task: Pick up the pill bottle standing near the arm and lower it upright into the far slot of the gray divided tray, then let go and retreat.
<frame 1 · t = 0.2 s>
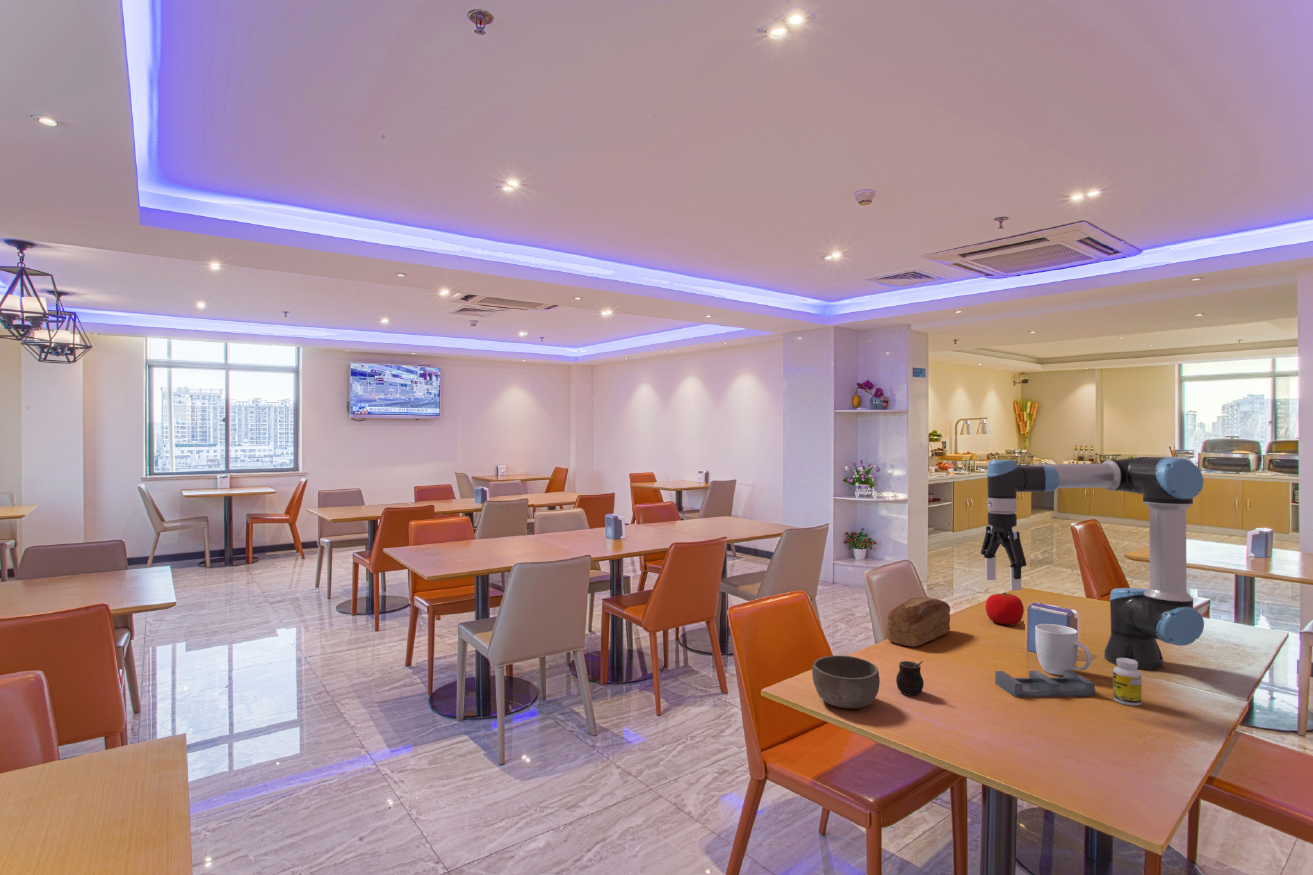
hand: (1002, 584, 192), 28 cm above the table, fingers open, 13 cm apart
tomato: (1004, 623, 251), on the table
bread: (919, 638, 233), on the table
bowl: (845, 703, 176), on the table
gray divided tray: (1043, 689, 184), on the table
pill bottle: (1127, 702, 175), on the table
mate gourd: (910, 693, 182), on the table
mug: (1060, 673, 197), on the table
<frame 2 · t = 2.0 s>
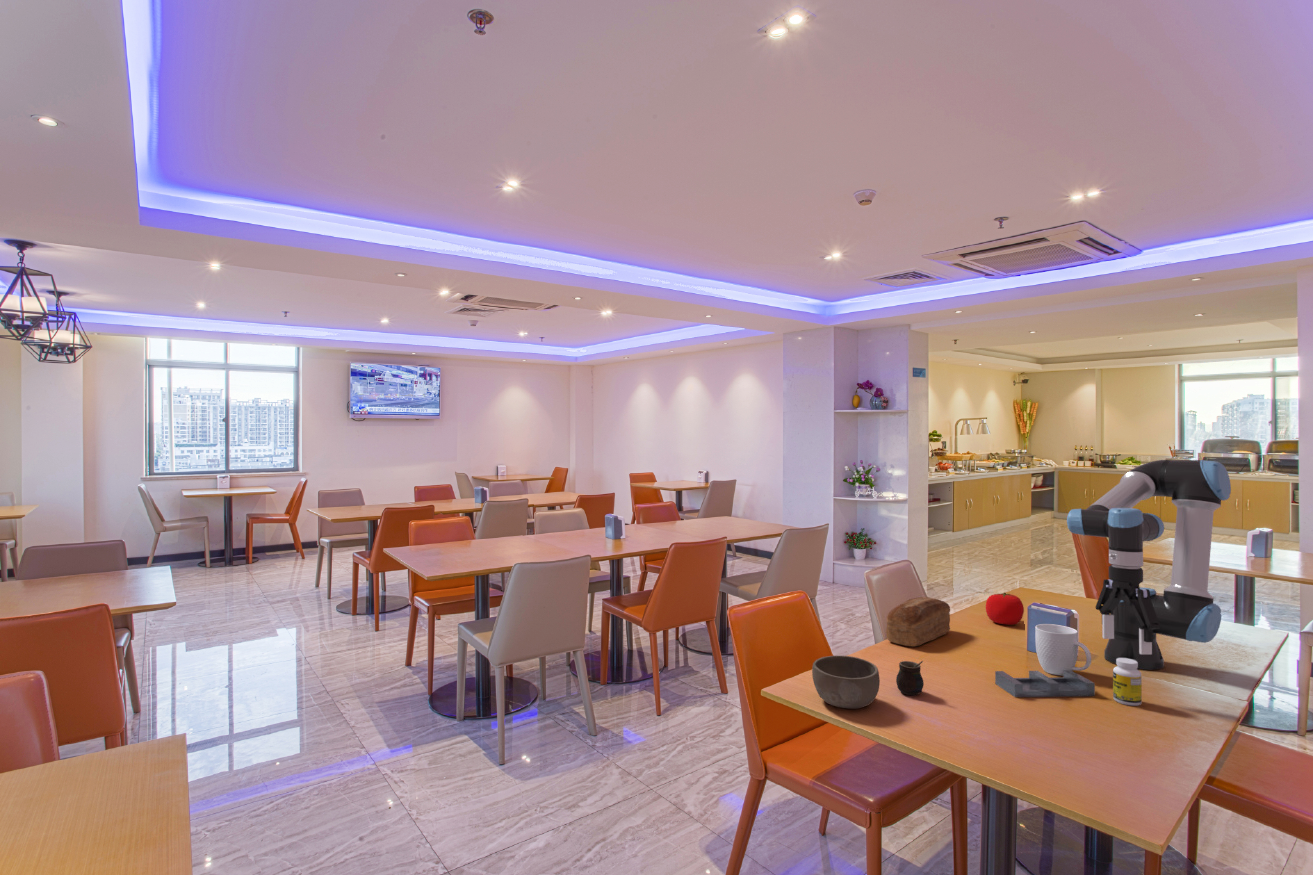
hand: (1126, 646, 175), 15 cm above the table, fingers open, 13 cm apart
nothing on the table moved.
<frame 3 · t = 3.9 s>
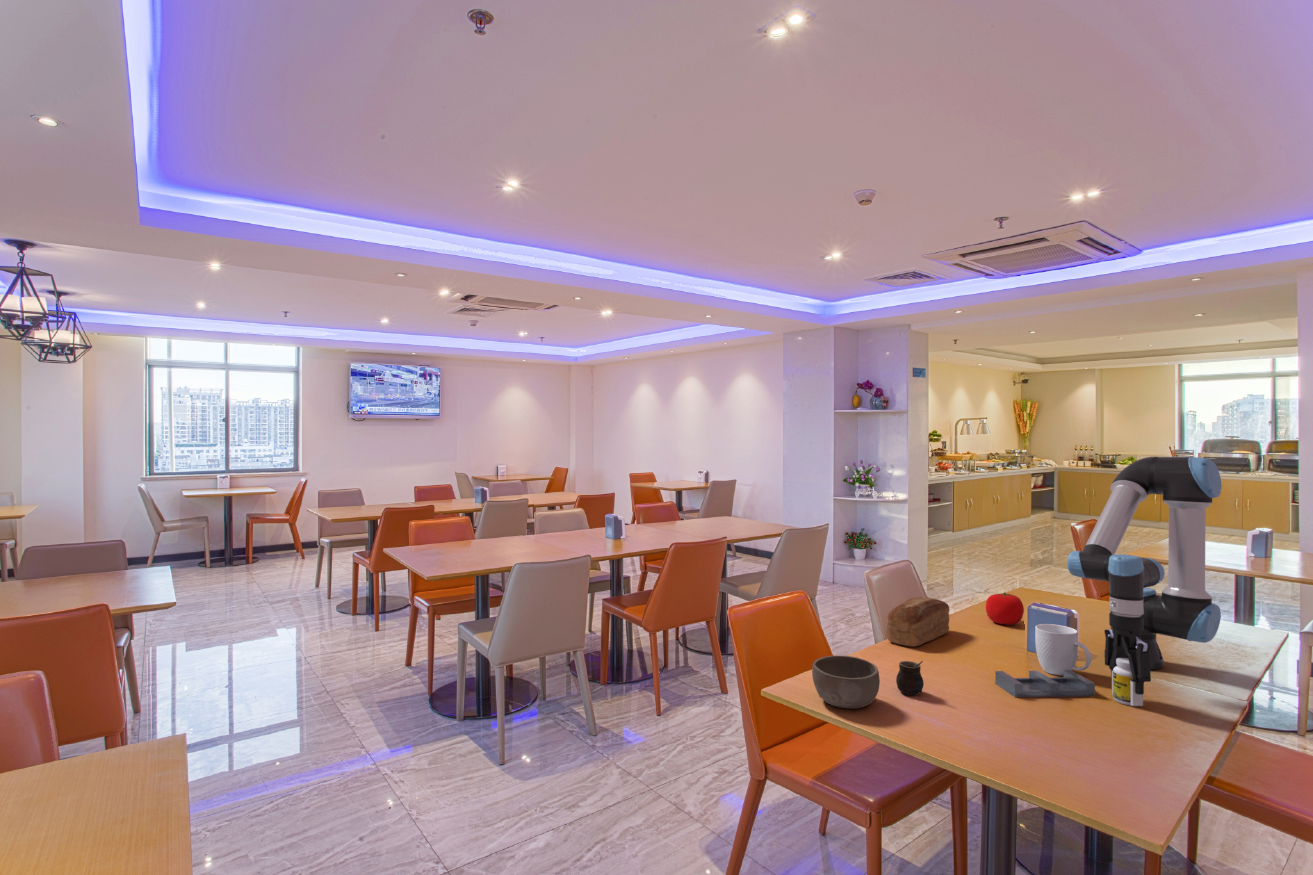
hand: (1127, 700, 175), 0 cm above the table, fingers closed on pill bottle, 6 cm apart
pill bottle: (1127, 702, 175), on the table, touching gripper
everything else where it was.
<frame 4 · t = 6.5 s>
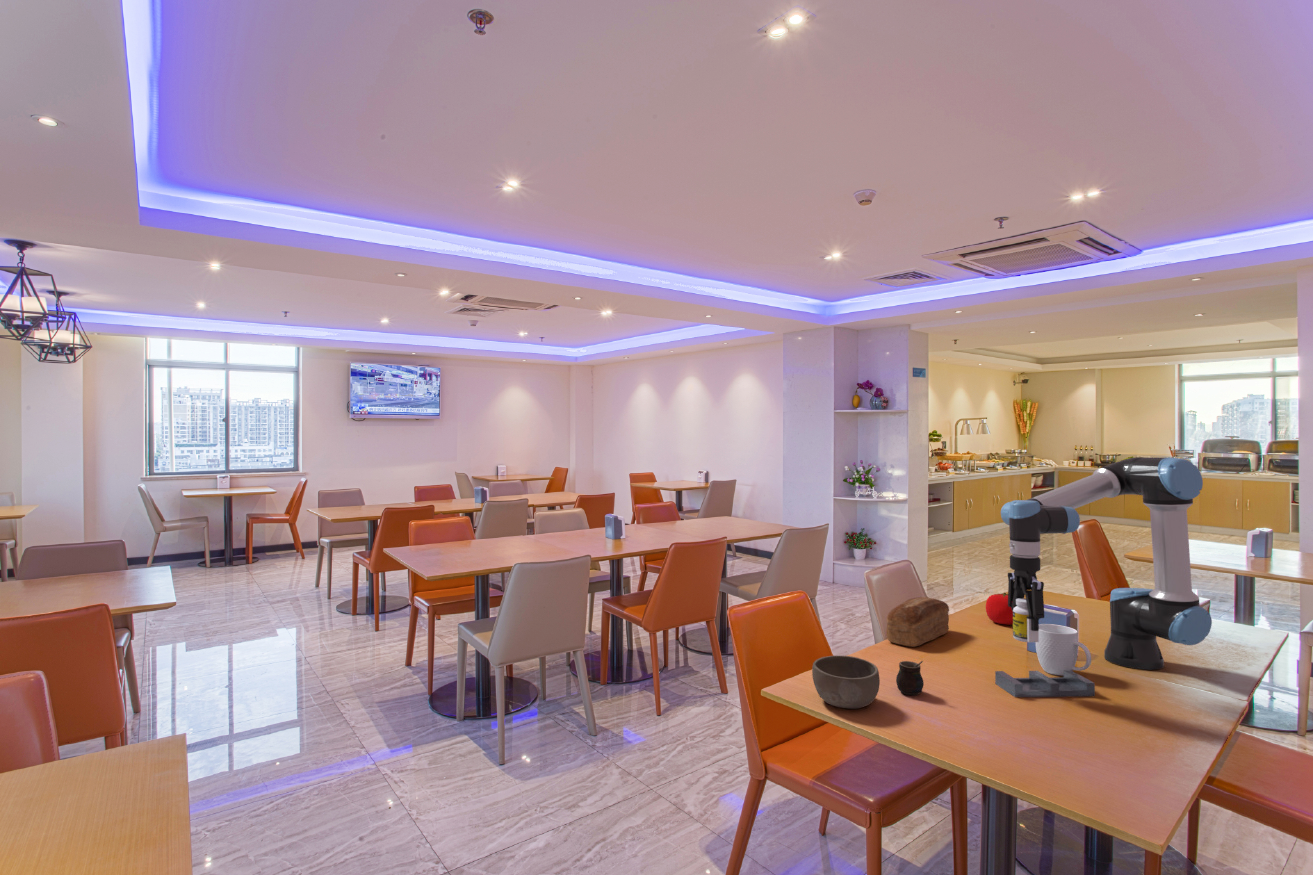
hand: (1025, 637, 184), 15 cm above the table, fingers closed on pill bottle, 6 cm apart
pill bottle: (1025, 640, 184), point 14 cm above the table, touching gripper
everything else where it was.
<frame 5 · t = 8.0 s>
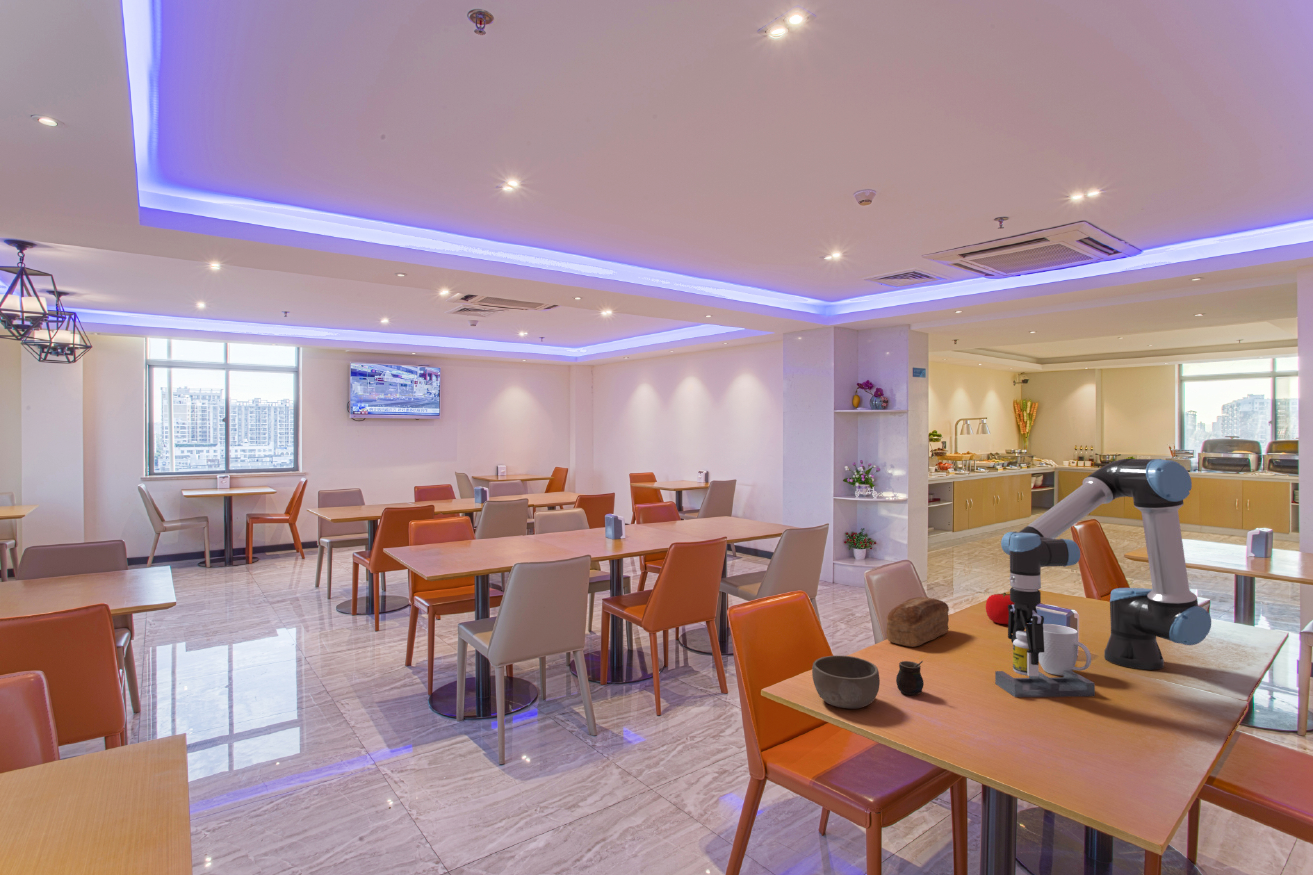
hand: (1025, 671, 183), 5 cm above the table, fingers closed on pill bottle, 6 cm apart
pill bottle: (1025, 673, 183), point 5 cm above the table, touching gripper
everything else where it was.
when the fingers open (3 cm above the table, at t = 9.3 s): pill bottle drops 1 cm, resting on gray divided tray.
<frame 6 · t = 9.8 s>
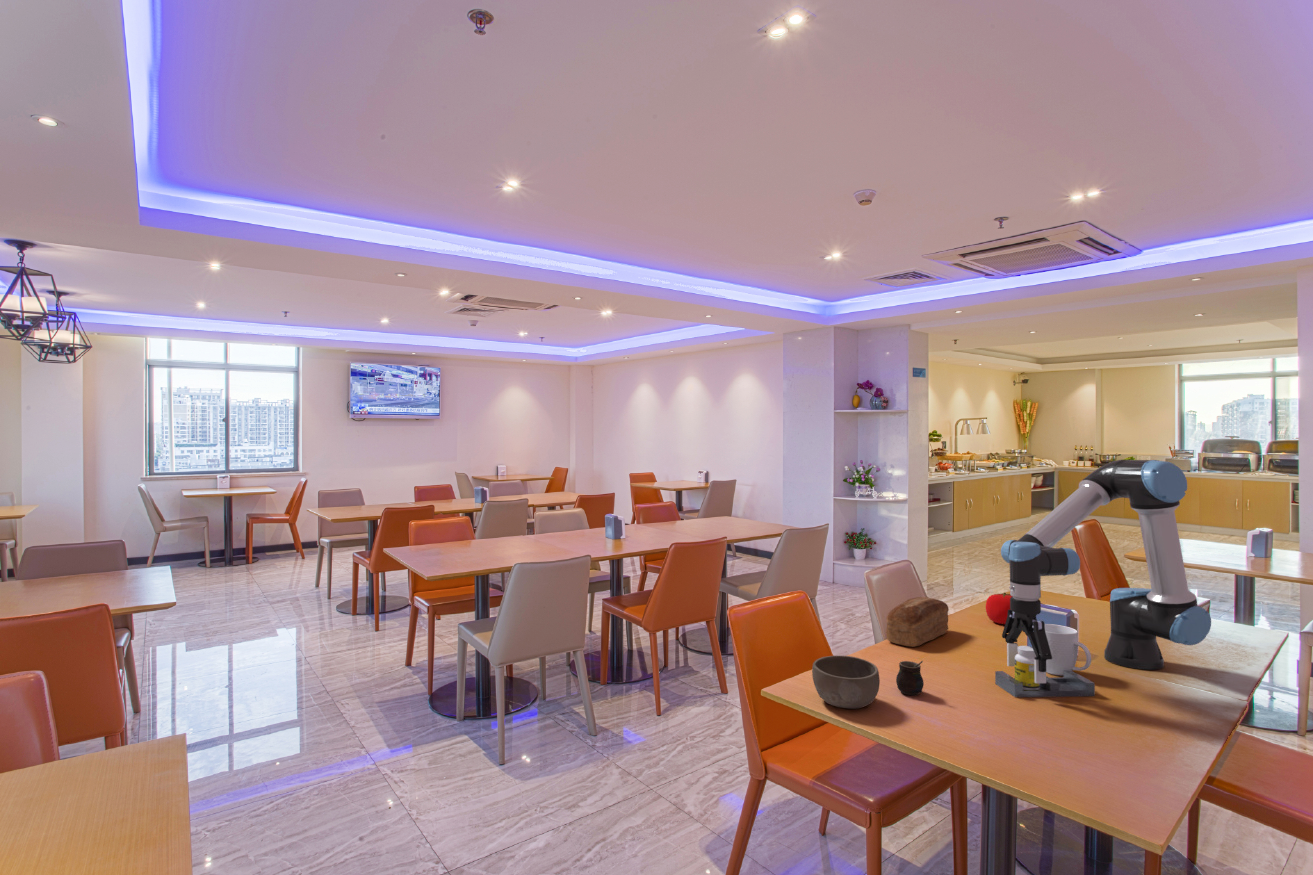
hand: (1025, 674, 183), 4 cm above the table, fingers open, 13 cm apart
pill bottle: (1027, 688, 183), point 1 cm above the table, touching gray divided tray
everything else where it was.
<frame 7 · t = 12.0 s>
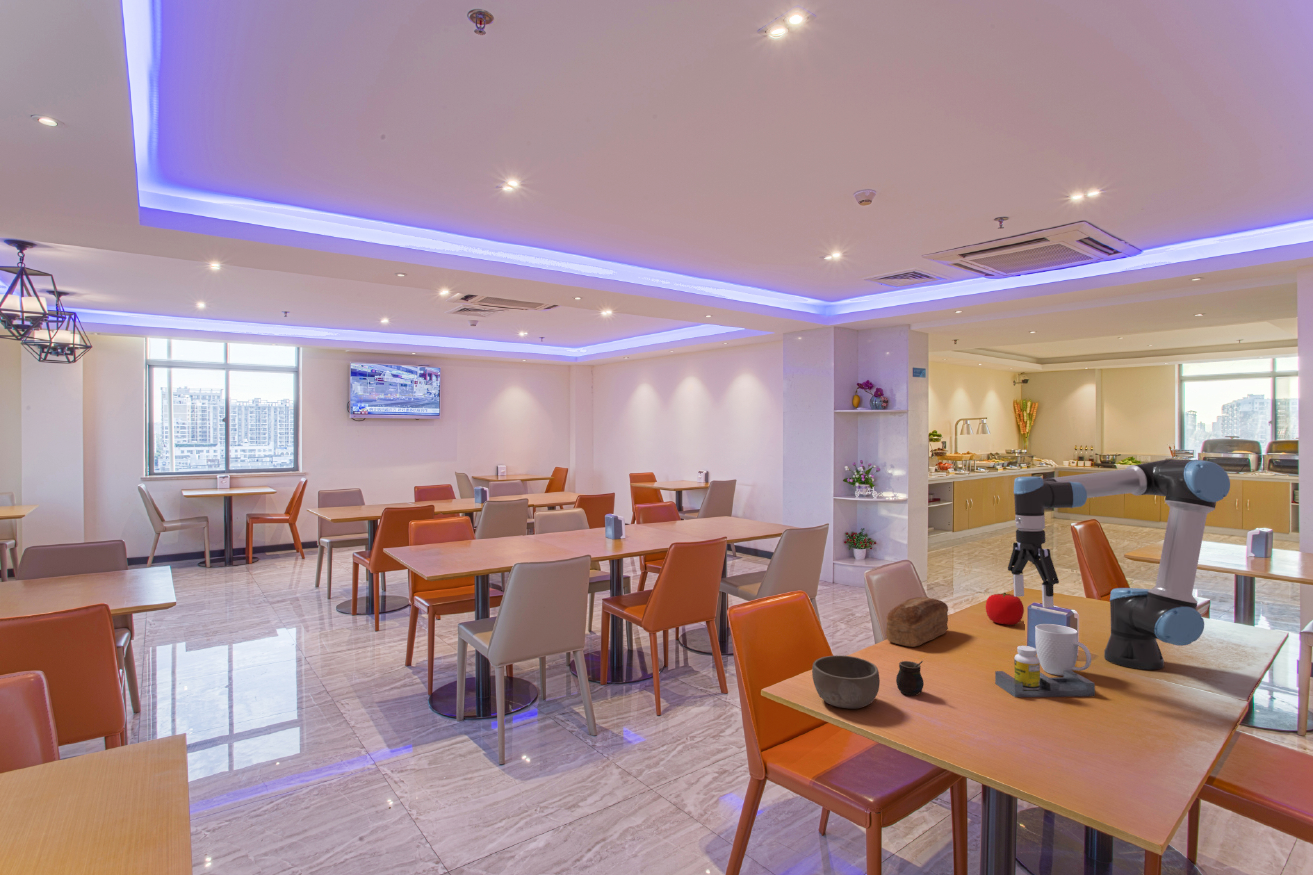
hand: (1033, 601, 192), 23 cm above the table, fingers open, 13 cm apart
nothing on the table moved.
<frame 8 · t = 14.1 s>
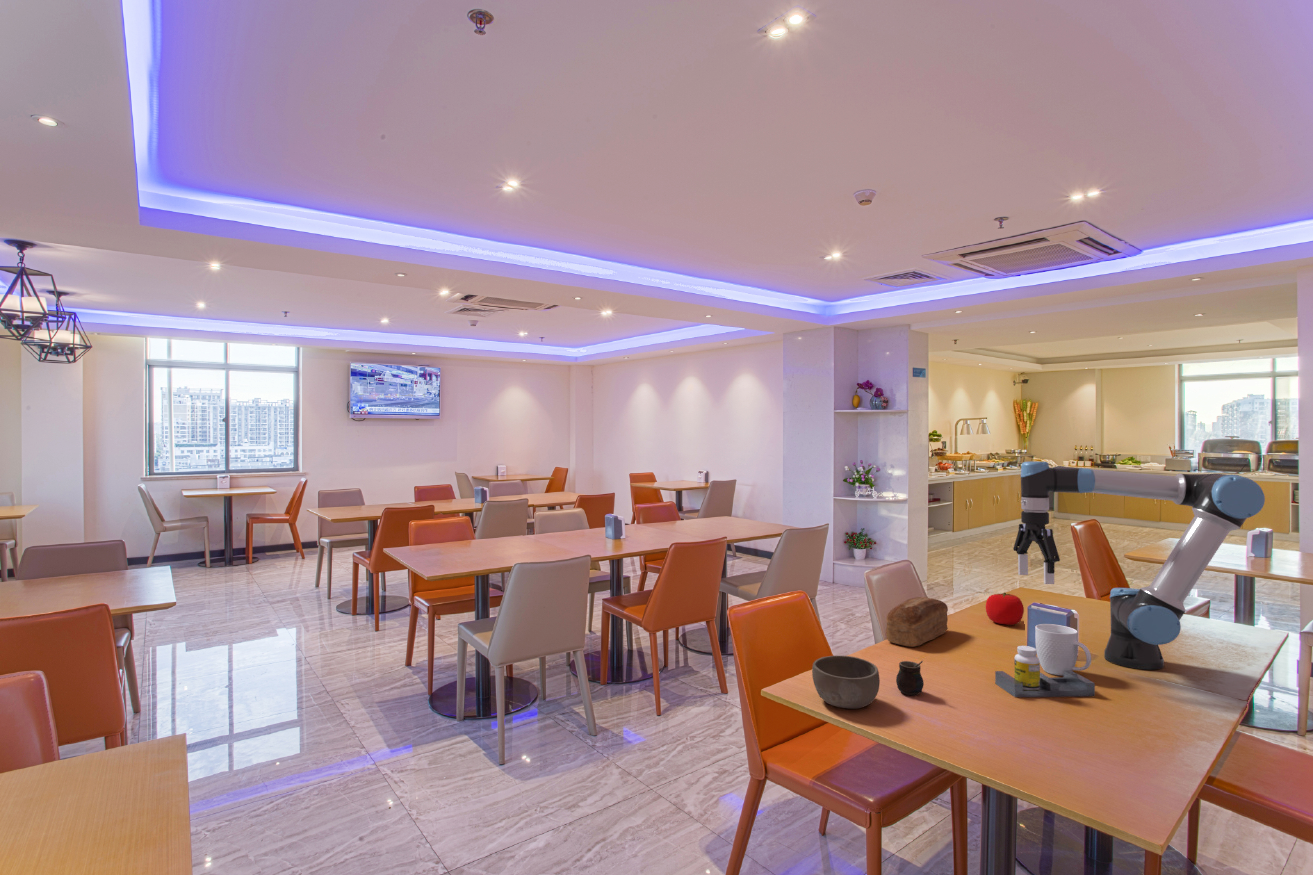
hand: (1035, 579, 204), 27 cm above the table, fingers open, 13 cm apart
nothing on the table moved.
at the end: pill bottle inside the target area on the gray divided tray (0.4 cm from its centre), point 0.6 cm above the gray divided tray's base; pill bottle tilted 0°; the gripper is holding nothing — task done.
